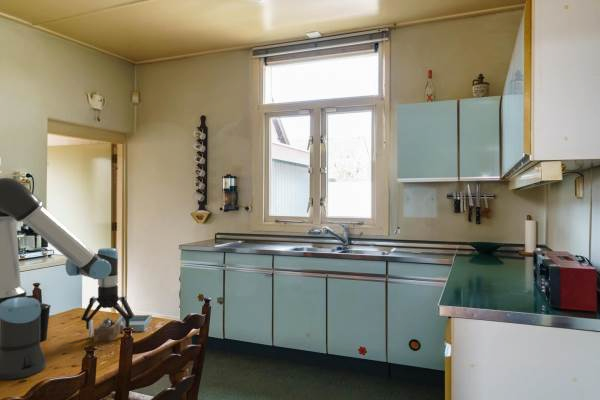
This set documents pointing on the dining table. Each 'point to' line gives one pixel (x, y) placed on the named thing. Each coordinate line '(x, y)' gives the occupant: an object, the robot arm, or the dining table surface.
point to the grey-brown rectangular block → (107, 331)
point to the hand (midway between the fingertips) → (108, 335)
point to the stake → (107, 323)
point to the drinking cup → (43, 319)
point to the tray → (137, 322)
